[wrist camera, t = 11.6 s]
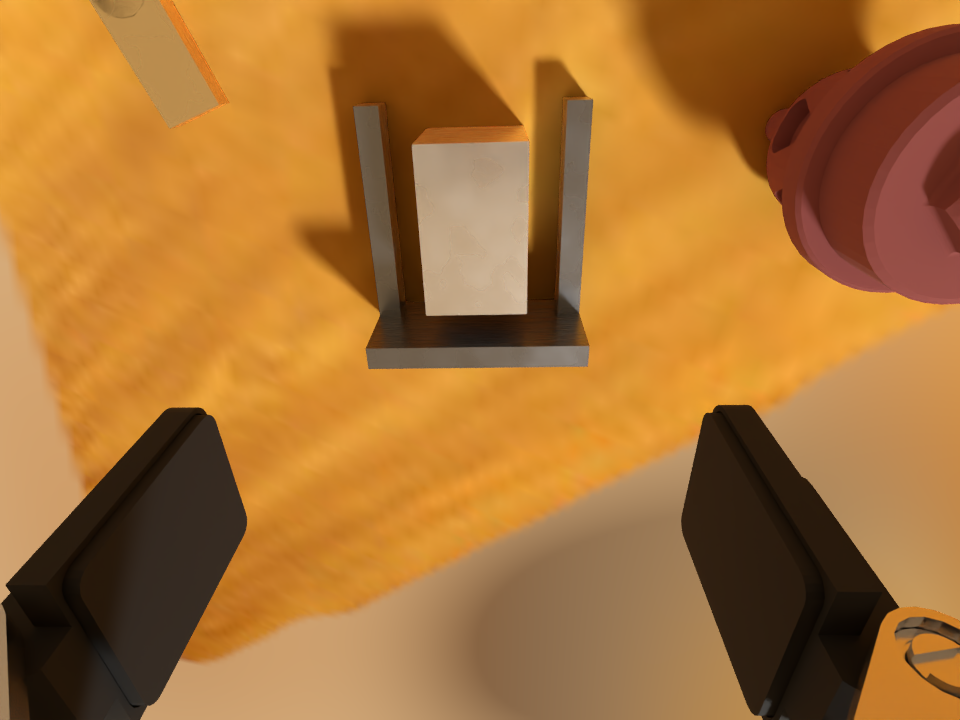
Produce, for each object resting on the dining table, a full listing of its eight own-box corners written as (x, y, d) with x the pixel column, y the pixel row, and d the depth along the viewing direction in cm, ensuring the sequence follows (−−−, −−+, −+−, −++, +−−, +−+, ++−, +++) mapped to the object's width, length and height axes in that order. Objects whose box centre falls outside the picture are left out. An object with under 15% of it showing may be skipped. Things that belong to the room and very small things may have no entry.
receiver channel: (361, 102, 28) (330, 114, 23) (587, 96, 27) (608, 106, 22) (388, 319, 34) (368, 368, 29) (573, 317, 33) (587, 366, 28)
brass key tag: (82, -35, 25) (65, -39, 24) (134, -66, 25) (119, -70, 24) (181, 125, 29) (169, 128, 28) (229, 102, 28) (219, 104, 27)
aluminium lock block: (427, 127, 29) (411, 144, 23) (523, 124, 28) (529, 141, 23) (438, 284, 33) (427, 328, 28) (521, 283, 33) (526, 326, 27)
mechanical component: (844, 261, 31) (688, 203, 30) (975, 74, 27) (796, -4, 25) (1026, 370, 21) (795, 289, 19) (1300, 90, 16) (1017, -44, 14)
